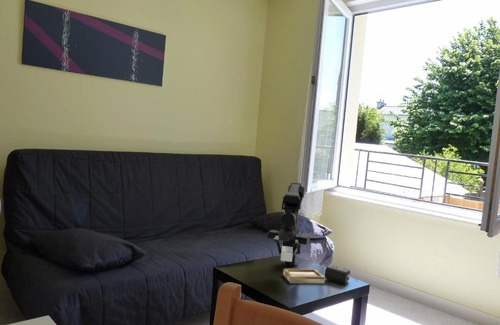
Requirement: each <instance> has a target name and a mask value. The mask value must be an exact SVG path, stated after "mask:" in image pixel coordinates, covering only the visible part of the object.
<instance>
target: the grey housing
mask: <svg viewBox="0 0 500 325" xmlns="http://www.w3.org/2000/svg"><path fill="white" fill-rule="evenodd" d="M292 255H293V247H287V246H283V245H282V251H281V254H280V261H281V262H282V261H289V262H292Z"/></svg>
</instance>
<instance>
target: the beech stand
mask: <svg viewBox="0 0 500 325" xmlns="http://www.w3.org/2000/svg"><path fill="white" fill-rule="evenodd" d="M282 271H283V272H282V273H283V274H282V275H283V276H284V278H285V279H286V280H287V281H288V282H289V283H290V284H325V279H326V278H325V275H323V273H321V272H319V270H317V269H316V268H283V270H282Z"/></svg>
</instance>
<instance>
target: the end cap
mask: <svg viewBox="0 0 500 325" xmlns="http://www.w3.org/2000/svg"><path fill="white" fill-rule="evenodd" d="M350 274H351V270H350V269H349V268H343V269H342V268H340V267H338V266H336V265H332V266H330V265H327V266H326V268H325V270H324V277H325V279H326V281H328V282H333V283H336V284H339V285H343V286H347V285H348V284H349V280H350V276H349V275H350ZM346 284H347V285H346Z"/></svg>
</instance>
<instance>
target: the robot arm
mask: <svg viewBox="0 0 500 325" xmlns="http://www.w3.org/2000/svg"><path fill="white" fill-rule="evenodd" d="M305 189H306V188H305V187H304V186H302V183H300V182H295V181H294V182H290V185H288V186H287V192H286V193H285V194H284V195H283V196H282V202H281V203H282V204H281V210H283V214H282V216H281V217H280V218H281V223H282V225H281V229H280V230H275V229H271V230H269V231H267V233H266V238H268V239H272V241H274V242H275V243H276V245H277V250H278V254H279V255H281V251H282V246H287V247H293V255H292V262H289V261H281V263H282V264H283V265H284V266H285V267H286V266H289V267H297V266H298V264H297V263H296V261H297V260H296V258H297V255H300V254H301V247H302V246H301V245H308V244H309V243H310V239H311V238H310V236H308V235H303V234H301V235H300V236H298V234H297V230H298V228H297V227H298V219H299V212H300V210H301V209H302V208H301V207H302V202H303V200H304V198H305Z"/></svg>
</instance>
